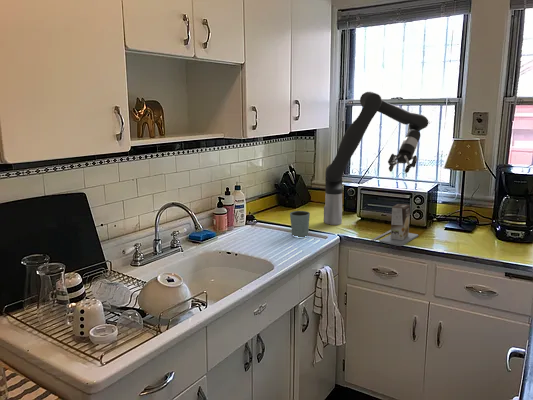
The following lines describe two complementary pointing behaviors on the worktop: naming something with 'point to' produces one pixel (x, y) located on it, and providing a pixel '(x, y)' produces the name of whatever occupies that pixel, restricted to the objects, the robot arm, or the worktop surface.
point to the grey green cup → (300, 223)
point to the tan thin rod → (381, 235)
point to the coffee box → (400, 221)
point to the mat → (398, 242)
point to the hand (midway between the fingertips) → (397, 171)
